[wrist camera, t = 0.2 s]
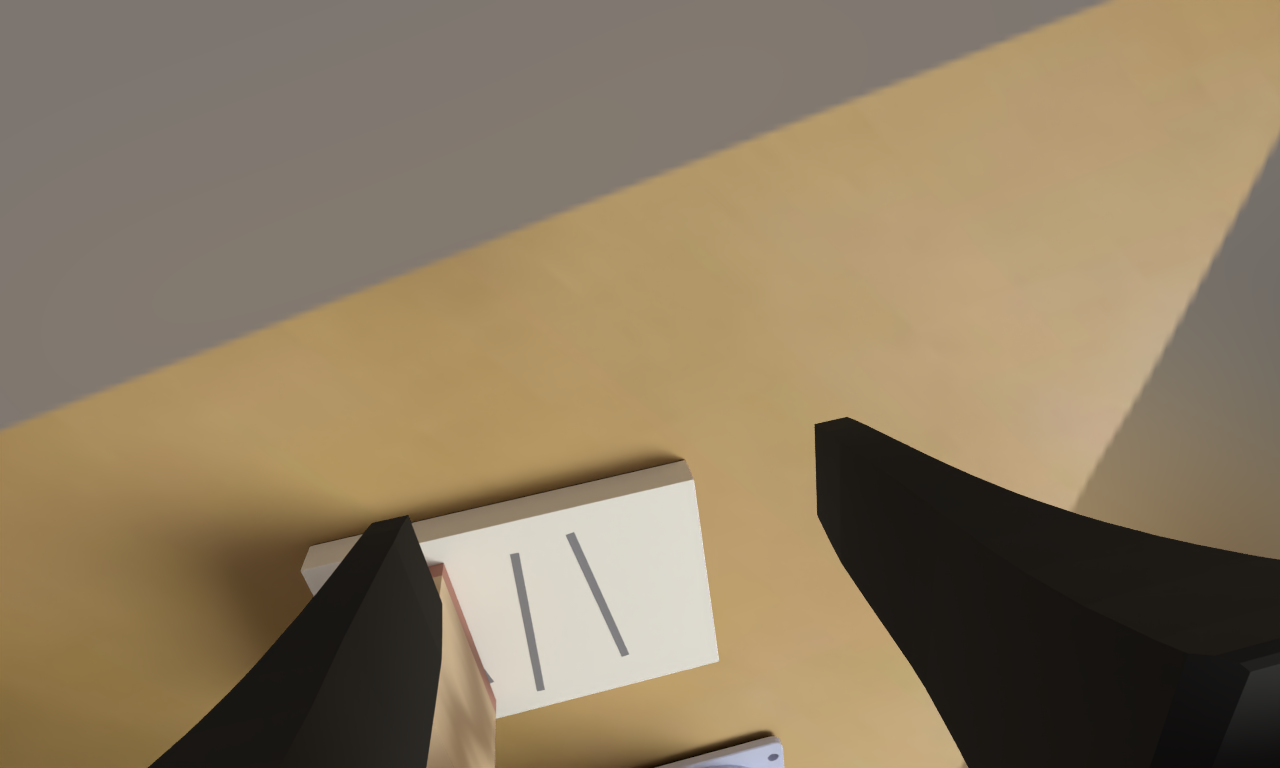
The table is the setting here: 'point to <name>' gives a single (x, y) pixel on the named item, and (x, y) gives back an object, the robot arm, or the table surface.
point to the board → (573, 585)
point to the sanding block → (460, 692)
